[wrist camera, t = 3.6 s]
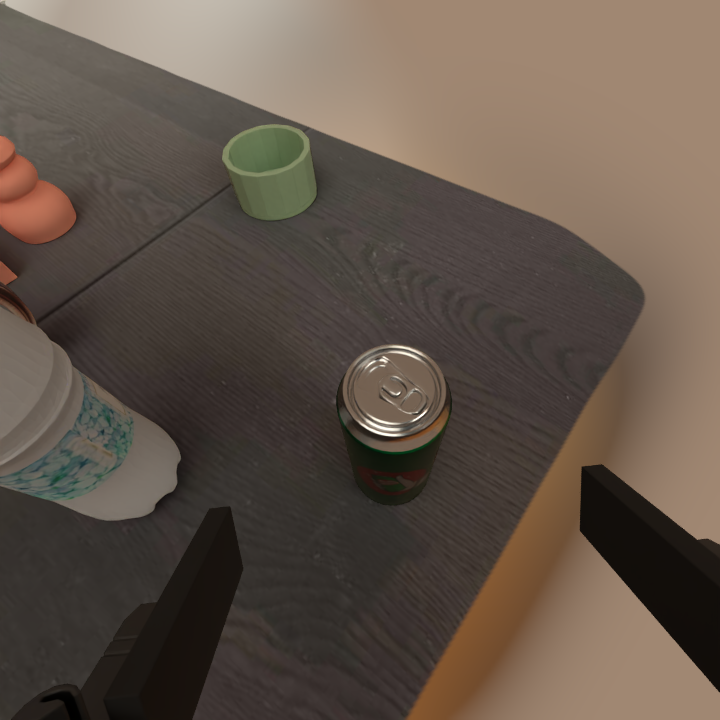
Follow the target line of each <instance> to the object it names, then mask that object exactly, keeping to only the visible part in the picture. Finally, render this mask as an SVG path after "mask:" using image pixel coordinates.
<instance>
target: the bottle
mask: <svg viewBox="0 0 720 720" xmlns="http://www.w3.org/2000/svg"><path fill="white" fill-rule="evenodd" d="M180 459H181V456H180V452H179V450H178V448H177V446H176V444H175V443H174V441H173V440H172V439H171V438H170V436H169V435H168V434H167V433H166V432H165V431H164V430H163V429H162V428H161V427H159V426H158V425H157V424H155V423H154V422H152V421H150V420H149V419H147V418H145V417H144V416H142V415H140V414H139V413H137V412H135V411H133V410H132V409H130V408H128V407H127V406H125V405H124V404H123V403H122V402H120V401H119V400H118V399H116V398H115V397H114V396H112V395H111V394H110V393H108V392H107V391H106V390H104V389H103V388H102V387H100V386H99V385H98V384H96V383H95V382H94V381H92V380H91V379H89V378H88V377H87V376H85V375H84V374H83V373H81V372H80V371H79V370H77V369H76V368H75V367H73V366H72V364H71V361H70V359H69V357H68V355H67V354H66V352H65V351H64V350H63V349H62V348H61V347H60V346H59V345H58V344H56V343H54V342H53V341H51V340H50V339H49V338H48V336H47V335H46V334H45V333H44V332H43V331H42V330H41V329H40V328H38V327H37V326H35V325H33V324H31V323H29V322H27V321H25V320H23V319H21V318H19V317H18V316H16V315H14V314H12V313H10V312H9V311H7V310H5V309H3V308H2V307H0V486H2V487H5V488H9V489H12V490H15V491H19V492H22V493H26V494H29V495H32V496H36V497H39V498H42V499H46V500H51V501H54V502H56V503H58V504H61V505H63V506H65V507H68V508H70V509H72V510H75V511H77V512H79V513H82V514H84V515H88V516H91V517H94V518H97V519H101V520H107V521H112V520H123V519H129V518H137V517H142V516H145V515H147V514H149V513H151V512H152V511H153V510H154V509H155V504H156V503H157V502H158V501H159V500H160V499H161V498H162V497H163V496H164V495H166V494H167V493H171V492H172V491H173V490H174V489H175V487H176V485H177V474H176V470H177V464H178V463H179V462H180Z"/></svg>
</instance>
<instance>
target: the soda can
mask: <svg viewBox="0 0 720 720" xmlns="http://www.w3.org/2000/svg"><path fill="white" fill-rule="evenodd" d="M336 406H337V412H338V417H339V420H340V424H341V428H342V432H343V436H344V440H345V444H346V447H347V451H348V455H349V459H350V463H351V467H352V471H353V474H354V478H355V481H356V483H357V485H358V487H359V488H360V489H361V491H362V492H363V493H364V494H365V495H366V496H367V497H369V498H370V499H371V500H373V501H375V502H377V503H380V504H383V505H400V504H404V503H407V502H409V501H411V500H413V499H414V498H415V497H417V496H418V495H419V494H420V493H421V491H422V490H423V489H424V487H425V485H426V483H427V481H428V478H429V475H430V472H431V469H432V467H433V464H434V461H435V458H436V455H437V452H438V450H439V447H440V444H441V441H442V438H443V435H444V433H445V430H446V427H447V424H448V421H449V418H450V415H451V410H452V398H451V392H450V389H449V385H448V383H447V381H446V379H445V377H444V376H443V374H442V372H441V371H440V369H439V367H438V366H437V365H436V363H435V362H434V361H433V360H432V359H431V358H430V357H429V356H427V355H426V354H425V353H423V352H421V351H419V350H417V349H415V348H412V347H409V346H405V345H397V344H391V345H383V346H378V347H375V348H372V349H370V350H368V351H366V352H365V353H363V354H362V355H360V356H359V357H358V358H357V359H356V360H355V361H354V362H353V363H352V364H351V366H350V367H349V369H348V371H347V372H346V373H345V375H344V376H343V378H342V380H341V382H340V384H339V387H338V391H337V396H336Z"/></svg>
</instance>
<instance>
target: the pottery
mask: <svg viewBox="0 0 720 720" xmlns="http://www.w3.org/2000/svg"><path fill="white" fill-rule="evenodd" d="M75 221H76V212H75V210H74V208H73V206H72V204H71V202H70V200H69V198H68V197H67V196H66V194H65V193H64V192H63V191H61V190H60V189H59V188H57V187H56V186H54V185H52V184H50V183H48V182H45V181H42V180H38V175H37V171H36V169H35V167H34V166H33V164H32V163H31V162H29V161H28V160H27V159H26V158H24V157H22V156H20V155H17V154H16V153H15V147H14V144H13V143H12V142H11V141H9V140H8V139H7V138H6V137H4V136H1V135H0V224H1V225H2V227H3V228H5V229H6V230H7V231H8V232H9V233H10V234H12V235H14V236H15V237H17V238H18V239H20V240H21V241H23V242H25V243H29V244H41V243H45V242H49V241H52V240H54V239H56V238H58V237H60V236H62V235H63V234H65V233H66V232H67V231H68V230H69V229H70V228H71V227H72V226H73V225H74V223H75ZM16 278H18V277H17V276H16V275H15V274H14V273H13V272H12V271H11V270H10V269H9V268H8V267H7V266H6V265H5V264H4V263H3V262H2V261H1V260H0V281H1V282H2V283H4V284H5V285H7V284H8V283H10V282H11V281H13V280H14V279H16Z"/></svg>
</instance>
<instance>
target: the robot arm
mask: <svg viewBox="0 0 720 720" xmlns="http://www.w3.org/2000/svg"><path fill="white" fill-rule="evenodd" d="M580 531H581V533H582V534H583V535H584V536H585V537H586V538H587V540H588V541H589V542H590V543H591V544H592V545H593V547H594V548H595V549H596V550H597V551H598V552H599V553H600V555H601V556H602V557H603V558H604V559H605V560H606V561H607V563H608V564H609V565H610V566H611V567H612V569H613V570H614V571H615V572H616V573H617V574H618V575H619V577H620V578H621V579H622V580H623V581H624V582H625V584H626V585H627V586H628V587H629V588H630V589H631V590H632V592H633V593H634V594H635V595H636V596H637V597H638V599H639V600H640V601H641V602H642V603H643V604H644V606H645V607H646V608H647V609H648V610H649V611H650V612H651V614H652V615H653V616H654V617H655V618H656V619H657V620H658V622H659V623H660V624H661V625H662V626H663V627H664V629H665V630H666V631H667V632H668V633H669V634H670V636H671V637H672V638H673V639H674V640H675V641H676V642H677V644H678V645H679V646H680V647H681V648H682V649H683V651H684V652H685V653H686V654H687V655H688V656H689V658H690V659H691V660H692V661H693V662H694V663H695V665H696V666H697V667H698V668H699V669H700V670H701V671H702V672H703V674H704V675H705V676H706V677H707V678H708V679H709V681H710V682H711V683H712V684H713V685H714V686H715V688H716V689H717V690H718V691H719V692H720V545H719V544H717V543H715V542H713V541H711V540H709V539H701V540H697V539H695V538H694V537H693V536H692V535H690V534H689V533H688V532H686V531H685V530H684V529H683V528H681V527H680V526H679V525H677V524H676V523H675V522H674V521H673V520H671V519H670V518H669V517H668V516H666V515H665V514H664V513H663V512H661V511H660V510H659V509H658V508H656V507H655V506H654V505H653V504H651V503H650V502H649V501H647V500H646V499H645V498H644V497H643V496H641V495H640V494H639V493H637V492H636V491H635V490H633V489H632V488H631V487H630V486H629V485H627V484H626V483H625V482H623V481H622V480H621V479H620V478H618V477H617V476H616V475H615V474H614V473H612V472H611V471H610V470H608V469H607V468H606V467H605V466H604V465H602V464H601V465H593V466H584V467H582V473H581V508H580ZM242 571H243V565H242V560H241V555H240V551H239V546H238V541H237V536H236V532H235V527H234V522H233V517H232V513H231V508H230V506H229V507H220V508H211V509H209V511H208V512H207V514H206V516H205V518H204V520H203V521H202V523H201V525H200V527H199V529H198V530H197V532H196V534H195V536H194V537H193V539H192V541H191V543H190V545H189V546H188V548H187V550H186V552H185V554H184V555H183V557H182V559H181V561H180V562H179V564H178V566H177V568H176V570H175V571H174V573H173V575H172V577H171V579H170V580H169V582H168V584H167V586H166V587H165V589H164V591H163V593H162V595H161V596H160V598H159V600H158V602H156V603H147V604H141V605H140V606H139V607H138V608H137V609H136V610H134V611H133V612H132V613H131V614H130V615H129V616H128V617H127V618H126V619H125V620H124V622H123V623H122V625H121V627H120V628H119V630H118V631H117V633H116V635H115V636H114V638H113V642H111V643H110V644H109V646H108V647H107V649H106V651H105V652H104V656H103V657H101V659H100V660H99V662H98V663H97V665H96V667H95V668H94V670H93V671H92V673H91V675H90V676H89V678H88V680H87V681H86V683H85V684H84V686H83V688H82V689H81V691H80V690H79V689H78V687H77V686H76V685H71V684H63V685H58V686H54V687H52V688H50V689H48V690H46V691H44V692H42V693H40V694H39V695H37V696H36V697H35V698H33V699H32V700H31V701H29V702H28V703H27V704H25V705H24V706H23V707H22V708H21V709H20V711H19V712H18V713H17V714H16V715H15V716H14V717H13V718H12V719H11V720H192V718H193V715H194V713H195V710H196V707H197V704H198V701H199V698H200V695H201V692H202V689H203V686H204V683H205V680H206V677H207V674H208V671H209V668H210V665H211V663H212V660H213V657H214V654H215V651H216V648H217V645H218V642H219V639H220V636H221V633H222V630H223V627H224V624H225V621H226V618H227V615H228V613H229V610H230V607H231V604H232V601H233V598H234V595H235V592H236V589H237V586H238V583H239V580H240V577H241V574H242Z"/></svg>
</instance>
